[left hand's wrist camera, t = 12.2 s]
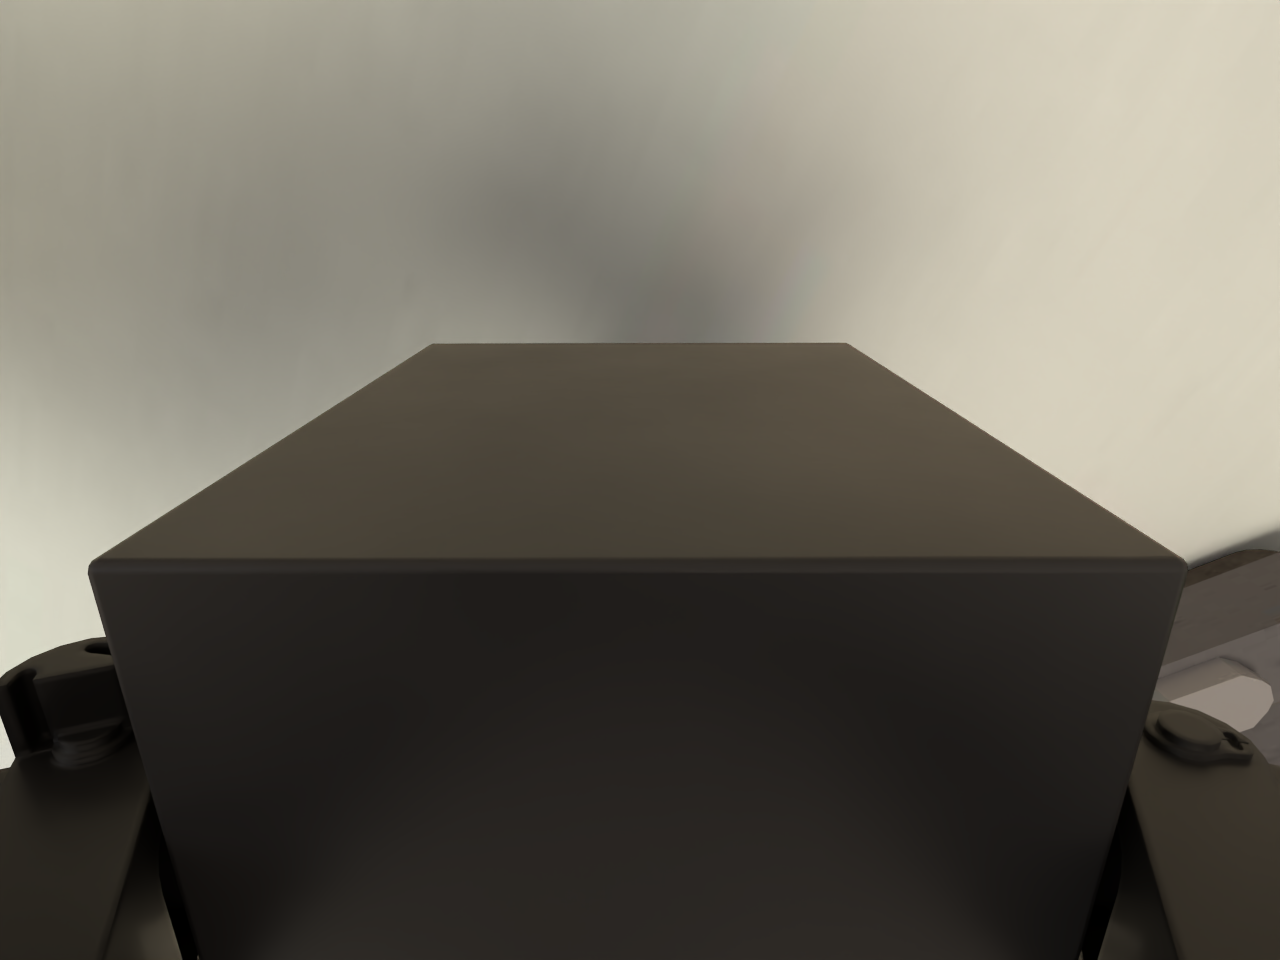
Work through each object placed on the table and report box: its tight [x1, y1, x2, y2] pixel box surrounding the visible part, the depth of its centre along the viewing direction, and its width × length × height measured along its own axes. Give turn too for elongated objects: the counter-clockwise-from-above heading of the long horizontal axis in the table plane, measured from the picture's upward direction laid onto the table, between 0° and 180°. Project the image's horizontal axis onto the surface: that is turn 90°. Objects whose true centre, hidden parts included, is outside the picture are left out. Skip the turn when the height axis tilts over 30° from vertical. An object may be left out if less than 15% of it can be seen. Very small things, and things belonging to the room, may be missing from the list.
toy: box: [1152, 550, 1280, 766], centre depth 33 cm, size 25×20×15 cm
